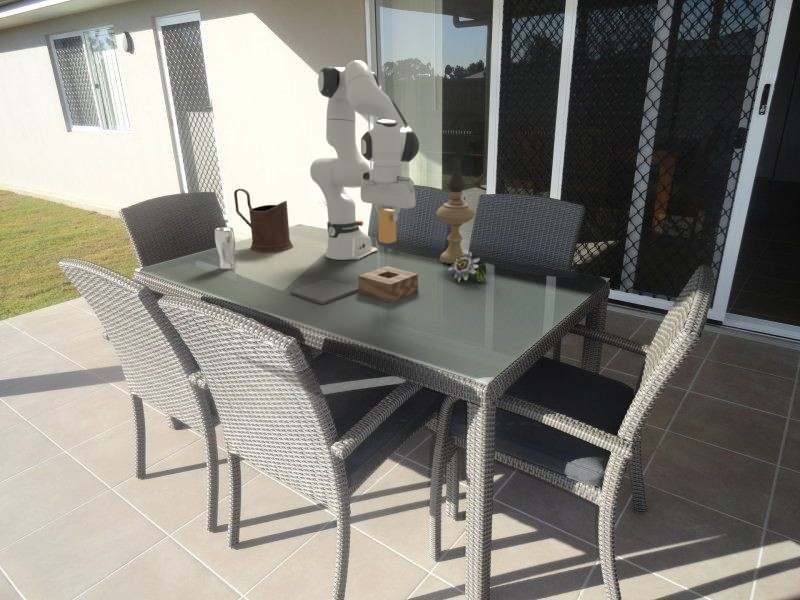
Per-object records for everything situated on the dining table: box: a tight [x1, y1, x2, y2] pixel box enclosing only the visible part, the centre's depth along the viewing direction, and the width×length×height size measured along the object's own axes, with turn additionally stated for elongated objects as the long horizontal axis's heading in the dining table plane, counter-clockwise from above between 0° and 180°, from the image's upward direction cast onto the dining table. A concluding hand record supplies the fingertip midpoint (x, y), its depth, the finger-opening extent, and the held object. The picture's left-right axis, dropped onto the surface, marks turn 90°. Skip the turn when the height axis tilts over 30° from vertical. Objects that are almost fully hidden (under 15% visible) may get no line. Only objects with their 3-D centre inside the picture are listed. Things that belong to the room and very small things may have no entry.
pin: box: [377, 208, 397, 244], centre depth 170 cm, size 4×4×10 cm
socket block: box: [357, 265, 419, 303], centre depth 177 cm, size 14×14×6 cm
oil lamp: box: [435, 156, 476, 263], centre depth 205 cm, size 15×15×40 cm
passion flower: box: [447, 251, 488, 282], centre depth 189 cm, size 11×11×12 cm
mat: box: [289, 278, 359, 306], centre depth 178 cm, size 16×16×1 cm
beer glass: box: [214, 226, 237, 271], centre depth 203 cm, size 7×7×15 cm
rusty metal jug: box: [233, 188, 294, 254], centre depth 229 cm, size 18×24×25 cm
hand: (387, 219), depth 170 cm, fingers closed on pin, 4 cm apart
